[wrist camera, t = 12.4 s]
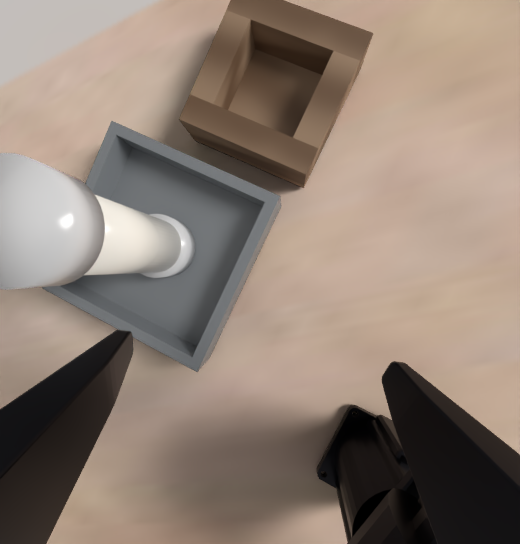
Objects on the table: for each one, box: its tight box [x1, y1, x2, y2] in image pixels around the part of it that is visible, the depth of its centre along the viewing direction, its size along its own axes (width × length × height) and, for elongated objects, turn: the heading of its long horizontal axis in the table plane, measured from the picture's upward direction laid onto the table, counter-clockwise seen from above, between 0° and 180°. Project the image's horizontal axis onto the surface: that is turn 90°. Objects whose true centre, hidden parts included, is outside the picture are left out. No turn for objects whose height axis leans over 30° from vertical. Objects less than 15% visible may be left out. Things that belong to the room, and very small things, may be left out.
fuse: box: [0, 153, 195, 290], centre depth 15 cm, size 5×5×12 cm
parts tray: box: [42, 121, 281, 372], centre depth 20 cm, size 14×14×3 cm
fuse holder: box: [179, 0, 373, 188], centre depth 19 cm, size 10×10×3 cm
